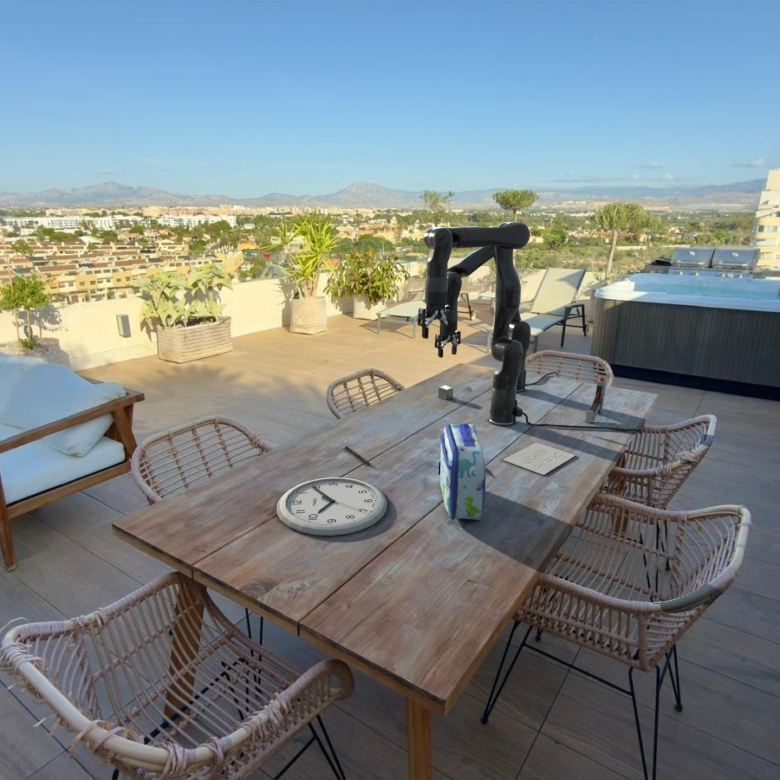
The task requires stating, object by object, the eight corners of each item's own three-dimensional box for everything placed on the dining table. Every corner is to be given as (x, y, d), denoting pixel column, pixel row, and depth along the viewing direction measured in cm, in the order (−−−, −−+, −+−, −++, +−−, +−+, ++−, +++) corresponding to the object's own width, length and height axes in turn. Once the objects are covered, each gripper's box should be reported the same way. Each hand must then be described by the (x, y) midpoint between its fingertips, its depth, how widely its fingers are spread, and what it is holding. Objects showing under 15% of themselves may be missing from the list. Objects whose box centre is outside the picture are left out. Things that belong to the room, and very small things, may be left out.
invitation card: (535, 442, 186) (575, 454, 176) (535, 442, 187) (575, 455, 176) (502, 459, 172) (543, 474, 162) (502, 460, 172) (543, 475, 162)
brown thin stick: (344, 448, 179) (344, 445, 179) (346, 448, 179) (346, 445, 179) (367, 464, 167) (367, 462, 167) (368, 464, 167) (368, 461, 167)
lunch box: (436, 479, 158) (439, 414, 152) (472, 480, 158) (476, 415, 152) (443, 526, 133) (448, 451, 127) (486, 527, 133) (492, 452, 127)
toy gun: (589, 386, 202) (601, 375, 213) (585, 424, 208) (596, 411, 219) (595, 387, 201) (607, 376, 212) (591, 425, 207) (602, 412, 218)
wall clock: (392, 527, 129) (268, 531, 127) (391, 533, 130) (269, 537, 127) (383, 473, 158) (282, 475, 155) (383, 478, 158) (282, 480, 156)
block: (438, 397, 235) (438, 387, 234) (444, 395, 238) (445, 385, 236) (446, 400, 232) (446, 389, 230) (452, 398, 235) (453, 387, 233)
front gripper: (429, 292, 168) (427, 341, 173) (458, 289, 177) (456, 336, 182) (413, 289, 174) (411, 337, 179) (442, 287, 183) (440, 332, 188)
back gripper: (443, 322, 217) (442, 360, 222) (466, 318, 226) (464, 355, 231) (430, 319, 222) (429, 356, 227) (453, 316, 231) (451, 352, 236)
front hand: (434, 336), depth 180 cm, fingers open, 8 cm apart
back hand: (447, 355), depth 229 cm, fingers open, 8 cm apart
